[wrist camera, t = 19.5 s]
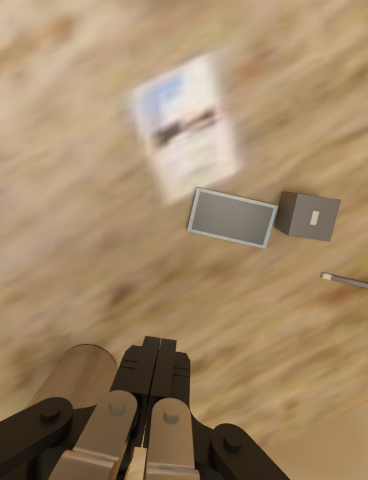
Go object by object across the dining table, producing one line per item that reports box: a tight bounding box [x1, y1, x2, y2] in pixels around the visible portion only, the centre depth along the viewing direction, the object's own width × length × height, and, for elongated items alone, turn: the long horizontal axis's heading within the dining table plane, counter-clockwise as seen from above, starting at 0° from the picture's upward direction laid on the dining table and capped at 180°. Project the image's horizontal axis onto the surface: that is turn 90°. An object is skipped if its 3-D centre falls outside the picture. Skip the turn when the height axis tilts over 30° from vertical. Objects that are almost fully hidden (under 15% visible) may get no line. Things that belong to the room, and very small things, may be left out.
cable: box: [321, 272, 368, 288], centre depth 39 cm, size 13×1×1 cm, turn 77°
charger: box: [274, 191, 341, 242], centre depth 35 cm, size 5×6×6 cm
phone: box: [187, 187, 278, 249], centre depth 38 cm, size 6×11×2 cm, turn 77°
